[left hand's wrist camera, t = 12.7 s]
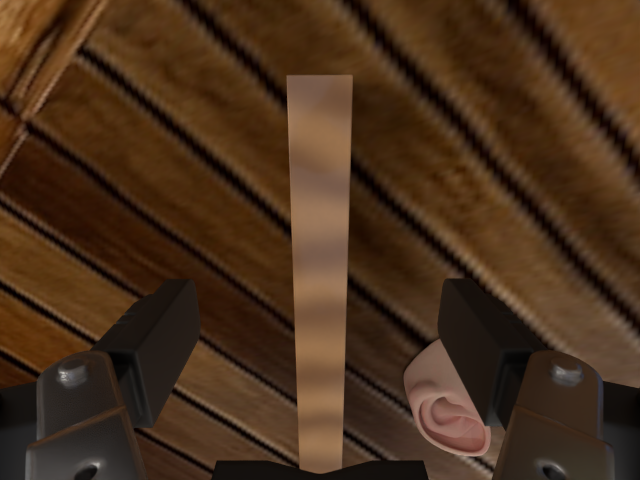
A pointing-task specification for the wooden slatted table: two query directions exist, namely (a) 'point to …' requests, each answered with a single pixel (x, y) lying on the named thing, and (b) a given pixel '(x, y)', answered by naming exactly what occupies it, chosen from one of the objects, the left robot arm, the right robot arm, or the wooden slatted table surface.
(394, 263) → the wooden slatted table surface
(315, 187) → the beam
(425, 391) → the anatomical model
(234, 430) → the wooden slatted table surface
